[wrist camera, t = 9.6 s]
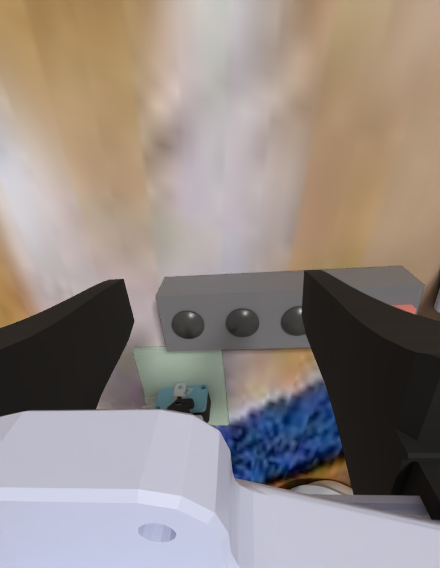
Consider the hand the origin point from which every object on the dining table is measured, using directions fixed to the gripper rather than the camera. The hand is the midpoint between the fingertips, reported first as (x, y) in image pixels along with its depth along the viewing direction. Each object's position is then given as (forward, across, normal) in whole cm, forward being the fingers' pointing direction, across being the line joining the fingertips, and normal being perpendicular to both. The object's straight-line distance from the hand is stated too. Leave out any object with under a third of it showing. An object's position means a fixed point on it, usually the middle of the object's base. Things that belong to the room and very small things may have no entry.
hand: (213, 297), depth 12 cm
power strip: (+10, -4, +6) cm, 13 cm away
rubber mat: (+10, +5, +16) cm, 20 cm away
